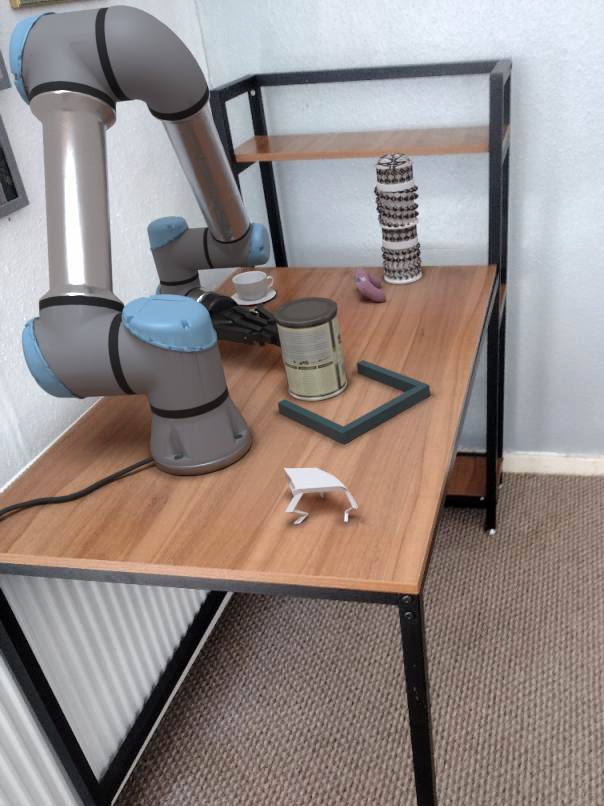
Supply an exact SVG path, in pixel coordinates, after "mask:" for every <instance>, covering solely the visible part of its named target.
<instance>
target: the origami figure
mask: <svg viewBox="0 0 604 806" xmlns="http://www.w3.org/2000/svg"><path fill="white" fill-rule="evenodd" d="M283 470H284V474H285V480H286V482H287V485H288V487H289V489H290V490H291V493H292V499H291V500H290V503H289V504H288V506H287V508H286V509H285V511H284V513H285V514H292V515H293V514H294V515H300V516H299V517H298V518H297V519H296V520H295V521H294V522H293V525H299V524H301V523H302V522H303V521H304V520H305V519H306V517H307V516H308V515H309V512H306V511H302V510H299V509H295V508H296V507H297V505H298V504H299V502H300V500H301V498H302V496H303V495H304V494H307V493H308V494H309V493H319V496H320V498H325V495H324V493H325V492H336V491H337V492H338V491H339V492H341V491H344V493H345V495H346V496H347V498H348V500H349V502H350V505H351V507H349V508H347V509H346V510H344V520H343V521H344V522H346V523H347V522H349V513H351V512H353V511H355V510H357V509H358V507H359V505H358V504H357V502H356V499H355V498H354V497H353V496H354V495H352V493H351V492H350V491H349V488H348V487H347V486H346V485H344V484H343V482H341V481H340V480H339V478H337V477H336V476H335V475H333V474H330V473H329V472H327V471H324V470H323V469H320V468H319V467H283Z"/></svg>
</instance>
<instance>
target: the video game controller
mask: <svg viewBox="0 0 604 806" xmlns="http://www.w3.org/2000/svg"><path fill="white" fill-rule="evenodd" d="M352 274H353V275H354V277H353V281H354V283H355V285H356V287H357V289H358V291H359V292H360V293H361V295H362V296H363V298H366V300H371V301H373V302H377V303H383V302H385V301H386V298H387V297H386V294H385V293H384V292H383V291H382V289H380V288H381V286H382V281H381V279H380V278H379V277H378V276H376V275H374V274H373V273H371V272H370V271H368V270H367V268H364V267H363V266H361V267H360V268H356V269H355V270H353V273H352Z"/></svg>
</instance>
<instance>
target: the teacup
mask: <svg viewBox="0 0 604 806" xmlns="http://www.w3.org/2000/svg"><path fill="white" fill-rule="evenodd" d="M231 279H232V284H233V287H234V289H235V293H234V294H233V295H231V296H230V297H231V298H233V299H234V300H235V301H236V302H237V303H238V304H239V306H249V305H257V304H262V303H264V302H267V301H270V300H271V299H272V298H274V297H275V296H276V293H277V292H276V290H275V289H273V288H271V287H273V285H274V278H273V277H272V276H271V275H268V276H267V273H266V272H264V271H258V270H253V271H246V272H241V273H239V274H236V275H235V276H233V277H232V278H231ZM269 280H271V282H270V283H269V284H268V281H269Z"/></svg>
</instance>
